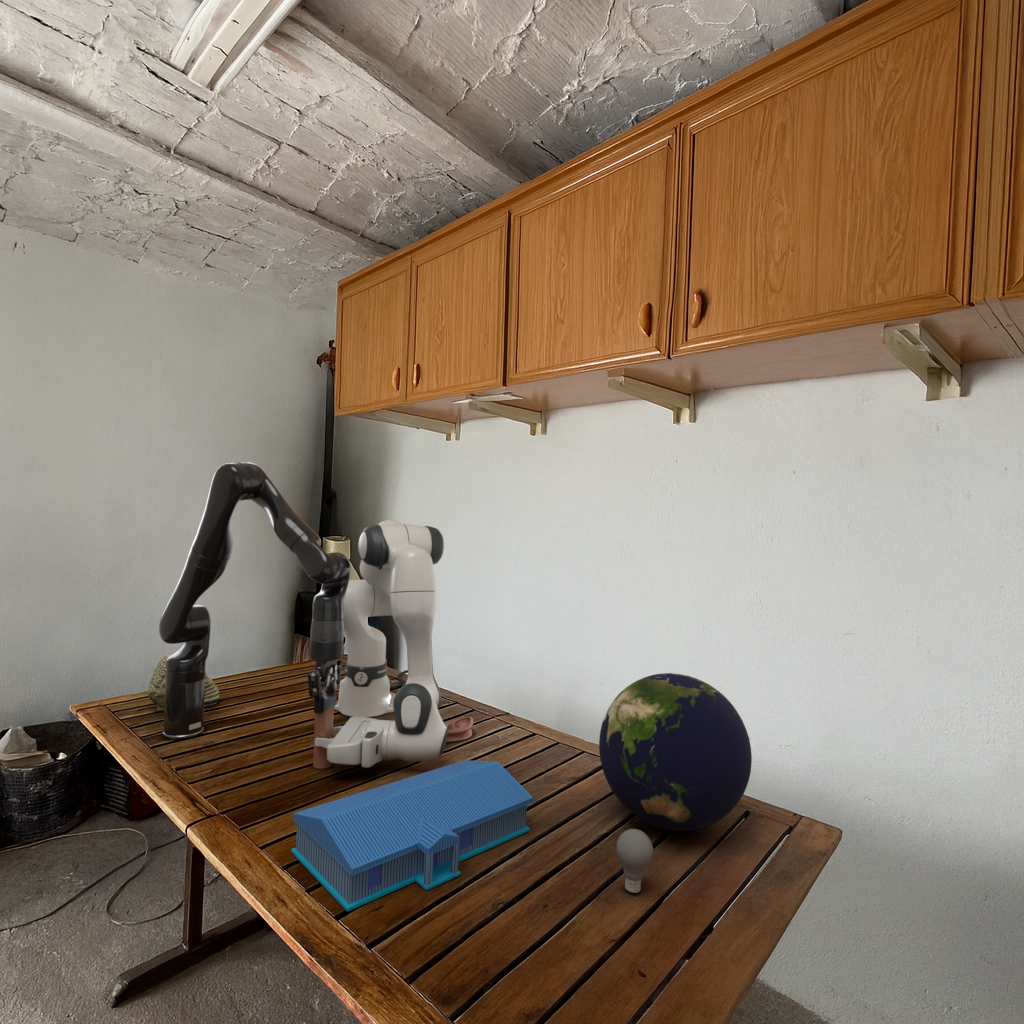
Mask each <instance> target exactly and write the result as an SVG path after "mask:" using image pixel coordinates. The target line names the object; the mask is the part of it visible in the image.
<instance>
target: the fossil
mask: <svg viewBox="0 0 1024 1024" xmlns="http://www.w3.org/2000/svg"><path fill="white" fill-rule="evenodd" d="M170 655H171V654H165V655H164V656H163V657H162V658H161V659H160V660H159V662H158V663H157V666H156V667H155V669H154V670H153V672H152V675H151V677H150V680H149V684H148V688H147V697H148V699H149V700H150V701H152V703H153V704H154V706H155V711H158V712H159V711H162V712H163V711H164V705H165V674H166V660H167V658H168V657H169V656H170ZM220 698H221V696H220V690H219V688H218V686H217V685H216V683H215V682H214V681H213V679H212V678H211V677H209V675H208V674H207V672H206V671H205V693H204V707H207V706H213V705H215V704H217V703H218V701H219V699H220Z"/></svg>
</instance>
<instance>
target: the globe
mask: <svg viewBox="0 0 1024 1024" xmlns="http://www.w3.org/2000/svg"><path fill="white" fill-rule="evenodd" d="M599 731H600V732H599V738H598V739H599V740H598V751H599V759H600V764H601V768H602V771H603V775H604V777H605V780H606V782H607V784H608V786H609V788H610V789H611V791H612V793H613V794H614V795H615V797H616V798H617V800H618V801H619V802H620V803H621V804H622V805H623V806H624V807H625V808H626V809H627V810H628V811H629V812H630V813H631V814H633V815H634V816H635V817H636V818H637V819H640V820H641V821H643V822H645V823H646V824H648V825H651V826H654V827H656V828H659V829H663V830H667V831H673V832H693V831H698V830H701V829H705V828H707V827H710V826H712V825H714V824H716V823H718V822H720V821H721V820H723V819H724V818H725V817H726V816H728V814H730V813H731V811H733V809H734V808H735V807H736V806H737V805H738V804H739V802H740V801H741V799H742V798H743V796H744V794H745V792H746V789H747V787H748V785H749V781H750V778H751V772H752V763H753V762H752V761H753V760H752V759H753V757H752V746H751V741H750V736H749V733H748V730H747V729H746V725H745V723H744V721H743V719H742V717H741V716H740V714H739V712H738V710H737V709H736V708H735V706H734V705H733V704H732V703H731V701H730V700H729V699H728V698H727V697H726V696H725V695H724V694H723V693H722V692H721V691H720V690H718V689H716V688H715V687H714V686H712V685H710V684H709V683H707V682H706V681H703V680H701V679H700V678H696V677H694V676H691V675H687V674H682V673H679V672H678V673H677V672H665V673H655V674H651V675H647V676H645V677H642V678H640V679H638V680H635V681H634V682H632V683H631V684H629V685H628V686H626V687H625V688H624V689H623V690H621V691H620V692H619V693H618V694H617V695H616V697H615V698H614V699H613V701H612V702H611V703H610V705H609V707H608V708H607V710H606V712H605V715H604V716H603V719H602V723H601V727H600V730H599Z"/></svg>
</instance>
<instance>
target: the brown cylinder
mask: <svg viewBox="0 0 1024 1024" xmlns="http://www.w3.org/2000/svg"><path fill="white" fill-rule="evenodd" d="M334 715H335V709H334V707H331V708H324V713H322V714H316V713H314V721H313V725H314V726H313V747H312V748H313V749H312V751H313V752H312V767H313V768H314V769H317V770H323V769H328V768H330V767H332V765H333V763H331V762H329V761H328V760H327V749H326V748H324V747H321V746H315V739H316V738H317V737H318V736H320V737H321V736H323V737H324V738H327V739H330V738H334V736H333V727H334V719H335V717H334Z"/></svg>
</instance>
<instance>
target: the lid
mask: <svg viewBox="0 0 1024 1024" xmlns="http://www.w3.org/2000/svg"><path fill="white" fill-rule="evenodd" d="M312 698H313V699H312V700H313V701H312V706H313V707H314V697H312ZM336 703H337V694H336V692H335V693H330V692H325V705H324V708H331V707H334V706H335V705H336Z"/></svg>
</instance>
